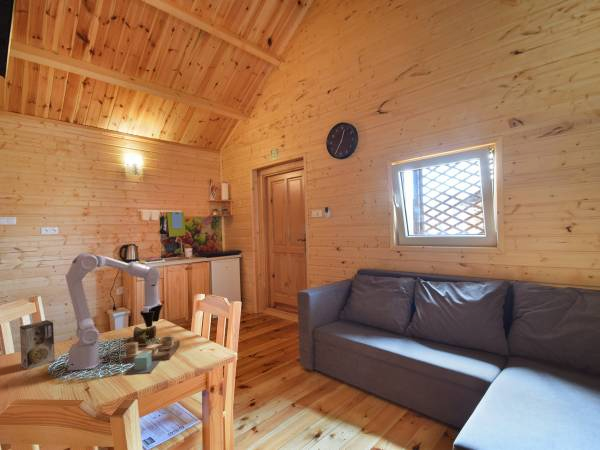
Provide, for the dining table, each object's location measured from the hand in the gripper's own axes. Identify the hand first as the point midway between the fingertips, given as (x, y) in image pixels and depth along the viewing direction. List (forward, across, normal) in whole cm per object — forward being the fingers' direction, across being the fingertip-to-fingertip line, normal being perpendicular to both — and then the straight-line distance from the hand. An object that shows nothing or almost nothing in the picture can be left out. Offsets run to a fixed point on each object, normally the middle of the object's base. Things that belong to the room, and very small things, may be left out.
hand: (152, 324), depth 137 cm
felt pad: (+10, -21, -4) cm, 24 cm away
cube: (+10, -21, -4) cm, 24 cm away
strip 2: (+9, -4, -5) cm, 11 cm away
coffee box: (+11, -10, +41) cm, 44 cm away
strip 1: (+9, -11, +1) cm, 14 cm away
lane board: (+10, -8, -2) cm, 13 cm away
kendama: (+11, +10, +8) cm, 16 cm away
